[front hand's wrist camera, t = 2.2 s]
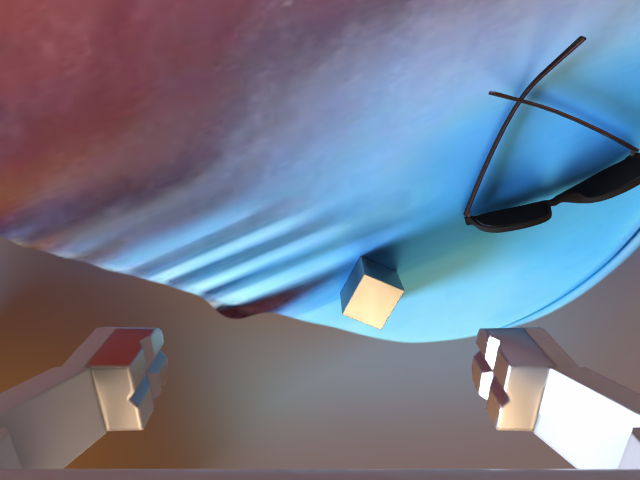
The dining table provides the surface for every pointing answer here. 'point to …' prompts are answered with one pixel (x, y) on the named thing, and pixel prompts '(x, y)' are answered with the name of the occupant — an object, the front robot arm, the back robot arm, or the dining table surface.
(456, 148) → the dining table surface
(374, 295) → the block
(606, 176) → the sunglasses
